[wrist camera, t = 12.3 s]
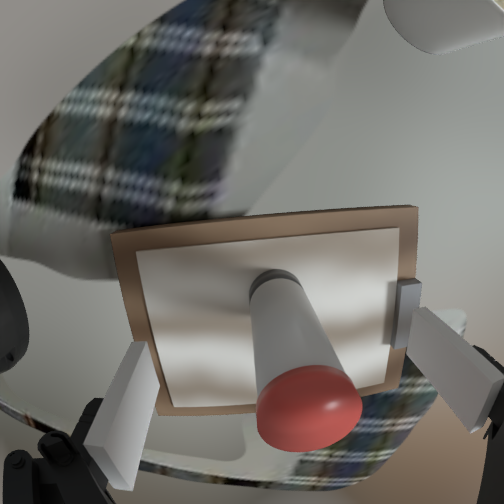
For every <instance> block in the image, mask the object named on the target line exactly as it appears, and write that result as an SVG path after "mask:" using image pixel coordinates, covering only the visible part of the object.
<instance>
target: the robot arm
mask: <svg viewBox="0 0 504 504" xmlns="http://www.w3.org/2000/svg"><path fill="white" fill-rule="evenodd" d="M28 343H29V325H28V318H27V314H26V310H25V307H24V303H23V300H22V298H21V295H20V292H19V290H18V288H17V286H16V283H15V282H14V280H13V278H12V276H11V274H10V273H9V271H8V270H7V268H6V266H5V265H4V264H3V262H2V261H1V260H0V374H1V373H3V372H6V371H8V370H10V369H11V368H12V367H14V366H15V365H16V364H17V362H18V361H19V360H20V359H21V358H22V357H23V356H24V354H25V352H26V351H27V347H28ZM406 354H407V355H408V356H409V358H410V359H411V360H412V361H413V362H414V364H415V365H416V366H417V367H418V368H419V370H420V371H421V372H422V373H423V374H424V376H425V377H426V378H427V379H428V380H429V382H430V383H431V384H432V385H433V387H434V388H435V389H436V390H437V392H438V393H439V394H440V395H441V397H442V398H443V399H444V400H445V402H446V403H447V404H448V405H449V407H450V408H451V409H452V410H453V412H454V413H455V414H456V416H457V417H458V418H459V419H460V421H461V422H462V423H463V425H464V426H465V427H466V428H467V430H468V431H469V432H470V433H471V432H474V431H476V430H478V429H480V428H482V427H483V426H484V424H485V422H486V420H487V418H488V417H489V418H490V419H491V420H492V422H491V424H490V426H489V428H488V429H487V431H486V433H485V435H484V437H483V439H485V438H486V437H487V435H488V434H489V435H488V444H487V452H486V459H485V465H484V471H483V476H482V482H481V486H480V491H479V496H478V500H477V504H504V367H503V366H502V365H501V364H499V363H498V362H497V361H495V359H494V358H493V357H490V355H489V354H488V353H487V352H486V351H485V350H484V349H482V348H479V347H477V346H475V345H474V346H471V345H470V344H469V343H468V342H467V341H465V340H464V339H463V338H462V337H461V336H460V335H459V334H457V333H456V332H455V331H454V330H453V329H452V328H450V327H449V326H448V325H447V324H446V323H444V322H443V321H442V320H441V319H440V318H438V317H437V316H436V315H435V314H434V313H432V312H431V311H430V310H429V309H428V308H426V307H421V308H416V309H413V316H412V323H411V330H410V336H409V342H408V347H407V353H406ZM159 388H160V384H159V381H158V378H157V375H156V372H155V368H154V365H153V361H152V358H151V355H150V351H149V347H148V344H147V341H140V342H132V343H131V345H130V347H129V349H128V351H127V353H126V355H125V356H124V358H123V360H122V362H121V364H120V366H119V368H118V371H117V373H116V374H115V376H114V379H113V381H112V383H111V385H110V387H109V389H108V391H107V393H106V395H105V398H94V399H93V400H92V401H90V402H89V403H88V404H87V405H86V407H85V409H84V411H83V413H82V416H81V417H80V419H79V422H78V423H77V425H76V427H75V429H74V431H73V433H72V435H71V437H69V436H68V435H67V433H65V432H62V431H51V432H48V433H47V434H45V435H44V436H43V437H42V438H41V439H40V440H39V442H38V450H39V452H40V453H41V455H42V456H43V457H44V458H37V459H36V458H35V459H33V458H32V457H31V455H30V454H29V453H28V452H27V451H25V450H15V451H12V452H11V453H9V454H8V455H7V457H6V459H5V461H4V471H3V504H116V503H115V501H114V500H113V498H112V497H111V495H110V494H109V492H108V491H107V489H106V486H107V483H108V481H109V483H110V484H111V485H112V486H113V488H114V489H121V490H129V491H133V487H134V483H135V479H136V475H137V470H138V466H139V462H140V458H141V454H142V450H143V446H144V443H145V439H146V435H147V431H148V427H149V424H150V420H151V416H152V413H153V409H154V406H155V402H156V398H157V395H158V391H159Z"/></svg>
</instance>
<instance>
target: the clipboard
mask: <svg viewBox="0 0 504 504" xmlns="http://www.w3.org/2000/svg"><path fill="white" fill-rule="evenodd" d="M110 237H111V243H112V248H113V254H114V259H115V264H116V269H117V274H118V278H119V283H120V287H121V291H122V296H123V300H124V304H125V308H126V312H127V316H128V320H129V324H130V327H131V331H132V335H133V339H134V342H140V341H147V344H148V347H149V351H150V355H151V358H152V361H153V365H154V368H155V372H156V375H157V378H158V381H159V384H160V388H159V391H158V395H157V398H156V402H155V407H156V410H157V412H158V415H159V416H204V415H228V414H243V413H256V402H257V387H256V375H255V363H254V351H253V339H252V327H251V315H250V302H249V290H250V287H251V284H252V283H253V281H254V280H255V279H256V278H257V277H258V276H259V275H260V274H262V273H263V272H265V271H268V270H272V269H282V270H286V271H288V272H290V273H292V274H293V275H295V276H296V277H297V279H298V280H299V282H300V284H301V285H302V287H303V289H304V291H305V293H306V295H307V297H308V299H309V301H310V303H311V305H312V307H313V309H314V311H315V313H316V315H317V317H318V319H319V321H320V323H321V325H322V327H323V329H324V331H325V333H326V335H327V337H328V339H329V341H330V343H331V345H332V347H333V349H334V351H335V353H336V355H337V357H338V359H339V361H340V363H341V365H342V367H343V369H344V371H345V373H346V374H347V375H348V376H349V377H350V378H351V380H352V382H353V384H354V386H355V388H356V390H357V392H358V394H359V396H360V397H362V396H366V395H371V394H375V393H379V392H383V391H388V390H391V389H395V388H398V386H399V381H400V377H401V372H402V367H403V362H404V357H405V351H406V347H408V342H409V336H410V330H411V323H412V316H413V309H416V308H419V304H420V297H421V288H422V283H421V282H420V281H419V280H417V279H416V278H415V274H416V260H417V242H418V207H416V206H412V205H393V206H374V207H357V208H341V209H327V210H314V211H300V212H287V213H275V214H263V215H252V216H241V217H231V218H220V219H210V220H201V221H191V222H182V223H173V224H165V225H156V226H148V227H139V228H131V229H123V230H117V231H115V232H113V233H111V234H110Z"/></svg>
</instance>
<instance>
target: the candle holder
mask: <svg viewBox="0 0 504 504" xmlns="http://www.w3.org/2000/svg"><path fill="white" fill-rule="evenodd" d="M383 1H384V8H385V12H386V14H387V16H388V19H389V21H390V22H391V24H392V25H393V27H394V28H395V29H396V31H397V32H398V33H399V34H400V35H401V36H402V37H403V38H404V39H405V40H406V41H407V42H409V43H410V44H411V45H413V46H414V47H416V48H418V49H420V50H422V51H424V52H426V53H430V54H434V55H442V54H447V53H450V52H454V51H457V50H460V49H463V48H466V47H469V46H473V45H476V44H480V43H483V42H486V41H490V40H494V39H497V38H501V37H504V0H383Z"/></svg>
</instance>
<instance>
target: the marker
mask: <svg viewBox="0 0 504 504" xmlns="http://www.w3.org/2000/svg"><path fill="white" fill-rule="evenodd" d="M249 302H250V315H251V327H252V339H253V351H254V363H255V375H256V387H257V402H256V416H257V428H258V432H259V434H260V436H261V437H262V439H263V440H264V441H265V442H266V443H267V444H269V445H270V446H272V447H274V448H277V449H280V450H283V451H289V452H307V451H313V450H317V449H321V448H324V447H327V446H329V445H331V444H333V443H335V442H337V441H339V440H340V439H342V438H343V437H344V436H346V435H347V434H348V433H349V432H350V431H351V430H352V429H353V428H354V427H355V425H356V424H357V422H358V420H359V418H360V416H361V413H362V401H361V398H360V396H359V394H358V392H357V390H356V388H355V386H354V384H353V382H352V380H351V378H350V377H349V376H348V375H347V374H346V373H345V371H344V369H343V367H342V365H341V363H340V361H339V359H338V357H337V355H336V353H335V351H334V349H333V347H332V345H331V343H330V341H329V339H328V337H327V335H326V333H325V331H324V329H323V327H322V325H321V323H320V321H319V319H318V317H317V315H316V313H315V311H314V309H313V307H312V305H311V303H310V301H309V299H308V297H307V295H306V293H305V291H304V289H303V287H302V285H301V284H300V282H299V280H298V279H297V277H296V276H295V275H293V274H292V273H290V272H288V271H286V270H282V269H272V270H268V271H265V272H263V273H262V274H260V275H259V276H258V277H257V278H256V279H255V280H254V281H253V283H252V284H251V287H250V290H249Z"/></svg>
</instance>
